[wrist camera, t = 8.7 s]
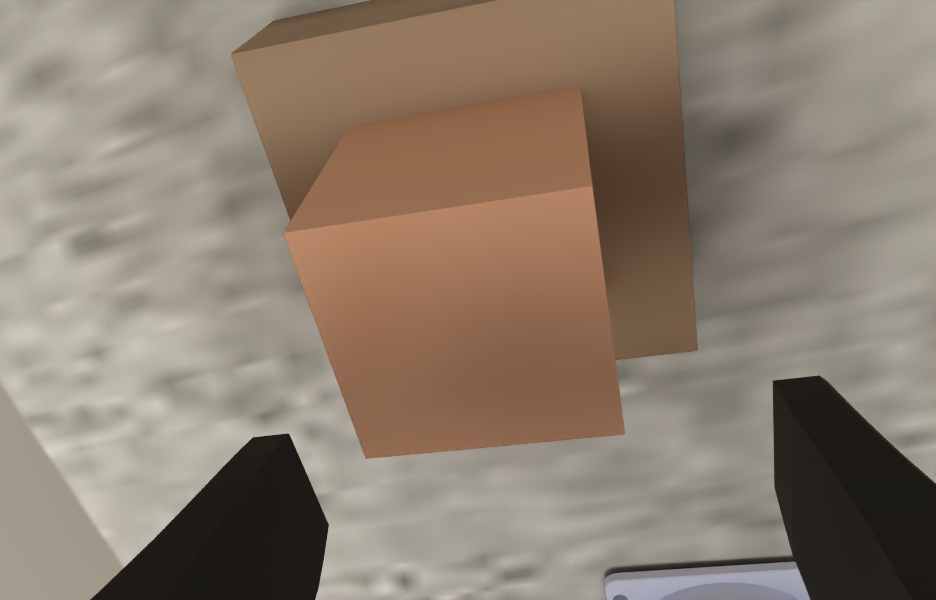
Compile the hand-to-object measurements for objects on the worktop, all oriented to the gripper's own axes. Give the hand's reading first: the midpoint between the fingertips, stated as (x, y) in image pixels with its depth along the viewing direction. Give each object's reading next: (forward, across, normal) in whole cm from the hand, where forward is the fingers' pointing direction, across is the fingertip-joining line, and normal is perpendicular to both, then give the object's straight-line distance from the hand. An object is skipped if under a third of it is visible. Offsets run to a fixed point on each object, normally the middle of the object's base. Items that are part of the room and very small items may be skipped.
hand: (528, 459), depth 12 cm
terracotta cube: (+7, +1, -1) cm, 7 cm away
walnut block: (+10, +1, -1) cm, 10 cm away
